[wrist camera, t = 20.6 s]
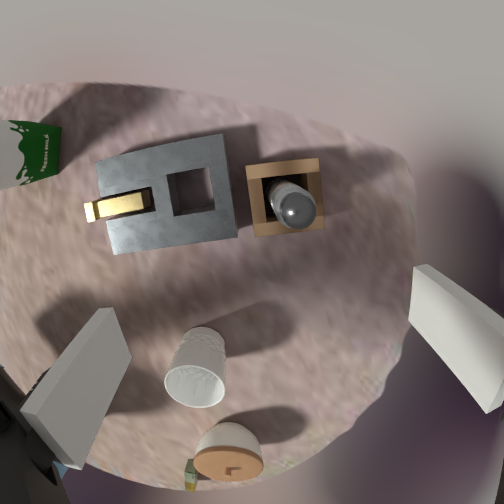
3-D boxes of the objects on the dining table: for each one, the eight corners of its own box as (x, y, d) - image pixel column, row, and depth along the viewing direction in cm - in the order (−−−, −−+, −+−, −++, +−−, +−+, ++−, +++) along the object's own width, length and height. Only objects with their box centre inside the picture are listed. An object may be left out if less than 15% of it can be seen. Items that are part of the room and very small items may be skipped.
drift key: (100, 216, 37) (88, 222, 33) (96, 199, 36) (84, 204, 33) (151, 206, 37) (142, 211, 33) (148, 188, 36) (138, 191, 32)
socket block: (125, 245, 39) (113, 254, 35) (108, 161, 35) (94, 162, 31) (238, 229, 38) (237, 237, 34) (225, 136, 34) (222, 133, 31)
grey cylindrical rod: (268, 208, 37) (279, 236, 24) (264, 180, 36) (274, 192, 23) (296, 204, 37) (322, 231, 24) (293, 176, 36) (319, 187, 23)
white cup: (186, 315, 42) (172, 356, 32) (236, 333, 43) (234, 377, 34) (173, 353, 44) (158, 396, 35) (219, 369, 45) (213, 414, 36)
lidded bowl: (186, 430, 51) (178, 472, 40) (227, 404, 48) (223, 452, 37) (232, 454, 53) (231, 494, 43) (274, 431, 51) (278, 475, 40)
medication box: (187, 458, 55) (183, 470, 51) (199, 460, 55) (195, 473, 51) (188, 479, 58) (184, 490, 54) (198, 481, 58) (195, 492, 54)
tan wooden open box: (254, 227, 38) (255, 237, 33) (245, 165, 36) (245, 166, 31) (315, 219, 38) (324, 228, 33) (309, 158, 35) (318, 158, 31)
